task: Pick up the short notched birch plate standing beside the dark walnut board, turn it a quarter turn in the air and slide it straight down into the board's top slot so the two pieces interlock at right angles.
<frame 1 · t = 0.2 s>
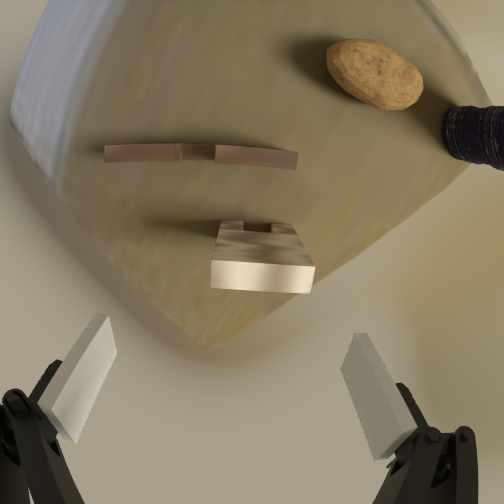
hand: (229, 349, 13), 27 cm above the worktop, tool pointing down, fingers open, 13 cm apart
storage jar: (457, 133, 33), on the worktop
potato: (361, 78, 31), on the worktop
birch plate: (256, 231, 39), on the worktop
walnut board: (204, 151, 35), on the worktop
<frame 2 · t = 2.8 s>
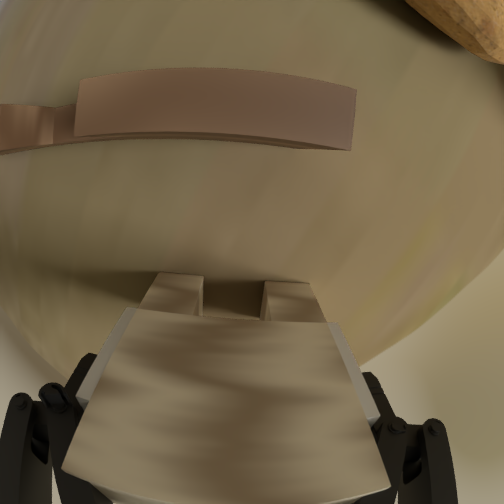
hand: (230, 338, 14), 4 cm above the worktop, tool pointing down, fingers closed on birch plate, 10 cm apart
potato: (431, 8, 10), on the worktop
birch plate: (232, 298, 18), on the worktop, touching gripper
walnut board: (117, 124, 14), on the worktop
when the fingers open (5 cm above the worktop, at t = 10.3 s): birch plate stays where it is, on the worktop.
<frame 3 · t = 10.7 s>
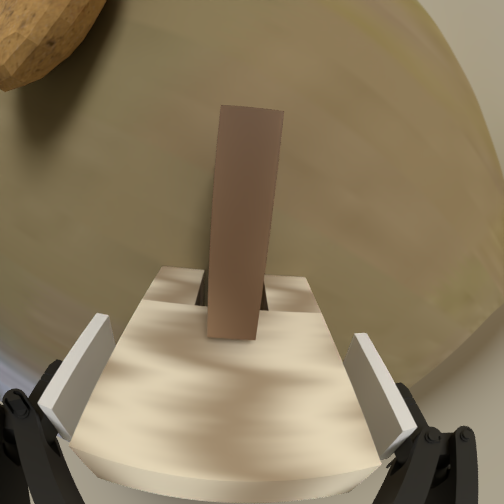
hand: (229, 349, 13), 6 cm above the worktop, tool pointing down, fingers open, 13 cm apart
potato: (79, 16, 11), on the worktop
birch plate: (232, 291, 19), on the worktop
walnut board: (233, 291, 19), on the worktop
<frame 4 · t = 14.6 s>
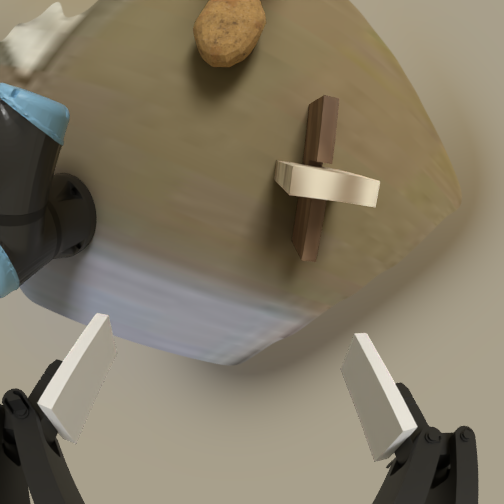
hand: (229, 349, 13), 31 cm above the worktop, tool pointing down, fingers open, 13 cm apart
potato: (230, 38, 32), on the worktop
birch plate: (307, 174, 40), on the worktop
walnut board: (307, 174, 40), on the worktop
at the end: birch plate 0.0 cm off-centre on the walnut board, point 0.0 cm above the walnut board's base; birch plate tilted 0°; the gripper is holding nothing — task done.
